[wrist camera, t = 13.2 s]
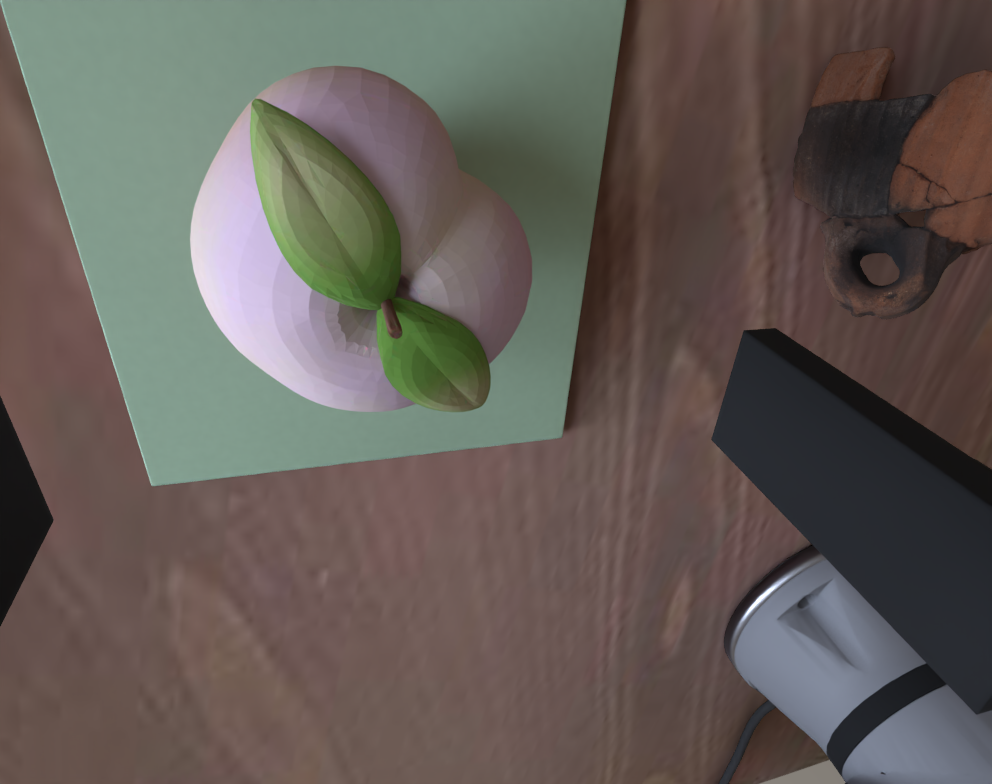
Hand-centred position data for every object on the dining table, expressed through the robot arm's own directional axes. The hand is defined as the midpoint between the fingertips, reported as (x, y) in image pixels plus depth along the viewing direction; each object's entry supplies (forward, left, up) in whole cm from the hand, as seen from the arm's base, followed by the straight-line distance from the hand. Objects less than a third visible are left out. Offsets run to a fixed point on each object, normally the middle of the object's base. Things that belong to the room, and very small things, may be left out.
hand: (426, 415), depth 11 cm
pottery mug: (+2, -22, -13) cm, 26 cm away
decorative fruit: (0, 0, -13) cm, 13 cm away
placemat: (0, 0, -13) cm, 13 cm away
